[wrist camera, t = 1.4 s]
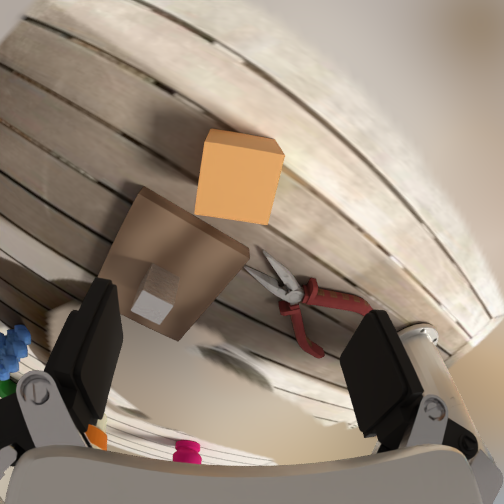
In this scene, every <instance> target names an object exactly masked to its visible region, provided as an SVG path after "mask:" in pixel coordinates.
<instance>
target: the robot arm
mask: <svg viewBox="0 0 504 504" xmlns="http://www.w3.org/2000/svg"><path fill="white" fill-rule="evenodd" d="M437 342H438V332H437V330H436V329H435V327H434V326H432V325H430V324H416V325H413V326H410V327H407V328H405V329H403V330H401V331H399V332H397V331H396V329H395V327H394V326H393V324H392V322H391V320H390V318H389V316H388V314H387V312H386V311H384V310H371V311H369V313H367V314H366V315H365V316H364V318H363V320H362V321H361V323H360V325H359V326H358V328H357V330H356V331H355V333H354V335H353V336H352V338H351V340H350V341H349V343H348V345H347V346H346V348H345V349H344V351H343V353H342V354H341V357H340V364H341V368H342V371H343V374H344V378H345V381H346V384H347V388H348V391H349V395H350V398H351V401H352V405H353V408H354V412H355V416H356V419H357V423H358V426H359V429H360V431H361V432H363V434H364V438H367V437H374V436H376V435H377V437H378V441H377V443H376V446H375V448H374V450H373V452H372V454H371V455H367V456H361V457H355V458H350V459H343V460H336V461H327V462H318V463H308V464H296V465H279V466H222V465H205V464H192V463H182V462H173V461H166V460H158V459H151V458H145V457H138V456H133V455H127V454H122V453H117V452H111V451H106V450H100V449H95V448H93V446H92V444H91V443H90V441H89V439H88V437H87V436H86V434H85V432H87V430H88V425H89V424H90V425H94V426H96V425H97V421H98V419H99V420H102V418H103V416H104V411H105V407H106V403H107V399H108V395H109V391H110V387H111V382H112V378H113V375H114V371H115V368H116V364H117V360H118V357H119V353H120V350H121V346H122V343H123V331H122V324H121V317H120V309H119V301H118V292H117V286H116V285H115V284H113V283H112V280H110V279H104V278H98V277H96V278H95V279H94V281H93V283H92V285H91V287H90V289H89V291H88V293H87V295H86V297H85V299H84V301H83V303H82V305H81V307H80V309H79V311H77V310H73V311H71V313H70V314H69V316H68V318H67V320H66V322H65V324H64V326H63V329H62V331H61V333H60V335H59V337H58V339H57V341H56V344H55V346H54V348H53V350H52V353H51V355H50V357H49V360H48V362H47V364H46V367H45V369H44V372H43V371H39V370H34V371H29V372H28V373H26V374H24V375H23V376H22V377H21V378H20V379H19V381H18V383H17V387H16V392H15V393H13V394H11V395H8V396H6V397H4V398H2V399H0V479H1V478H2V477H3V476H4V475H5V474H4V471H5V470H6V469H7V468H8V467H9V466H15V467H14V470H13V472H12V475H11V478H10V482H9V485H8V489H7V493H6V499H5V503H4V501H3V500H2V499H1V497H0V504H492V503H493V501H494V500H495V498H496V496H497V494H498V492H499V490H500V488H501V486H502V483H503V476H502V473H501V471H500V470H499V469H498V468H497V466H496V463H495V461H494V459H493V457H492V456H491V454H490V452H489V451H488V449H487V447H486V446H485V444H484V443H483V441H482V439H481V437H480V436H479V434H478V432H477V430H476V428H475V426H474V423H473V421H472V419H471V417H470V415H469V413H468V411H467V408H466V406H465V404H464V402H463V400H462V397H461V395H460V393H459V391H458V389H457V387H456V385H455V383H454V381H453V379H452V377H451V375H450V373H449V371H448V369H447V367H446V365H445V363H444V361H443V359H442V358H441V356H440V354H439V352H438V350H437V348H436V344H437Z"/></svg>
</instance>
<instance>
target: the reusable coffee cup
mask: <svg viewBox="0 0 504 504" xmlns="http://www.w3.org/2000/svg"><path fill="white" fill-rule="evenodd" d="M106 422H107V416H106V414H105V413H104V416H103V418H102V420H99V419H98V421H97V425H96V426H94V425H90V424H89V425H88V430H87V432H85V434H86V436H87V437H88V439H89V441H90V443H91V444H92V446H93V448H95V449H100V450H106V451H107V435H106Z"/></svg>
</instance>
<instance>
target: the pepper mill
mask: <svg viewBox="0 0 504 504" xmlns="http://www.w3.org/2000/svg"><path fill="white" fill-rule="evenodd" d="M175 449H176V450H177V451H176V452H175V453H174V454H173V462H182V463H192V464H201V461H202V458H201V456H200V455H199V454H198V452H200V445H199V444H198V443H197V442H194V441H188V440H181V441H177V442H176V445H175Z"/></svg>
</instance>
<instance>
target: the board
mask: <svg viewBox="0 0 504 504" xmlns="http://www.w3.org/2000/svg"><path fill="white" fill-rule="evenodd" d="M249 259H250V254H249V248H248V247H246V246H244V245H243V244H241V243H239V242H237V241H236V240H234V239H232V238H231V237H229V236H227V235H226V234H224V233H222V232H221V231H219V230H217V229H216V228H214V227H212V226H211V225H209V224H207V223H205V222H204V221H202V220H200V219H199V218H197V217H195V216H194V215H192V214H190V213H189V212H187V211H185V210H184V209H182V208H180V207H178V206H177V205H175V204H173V203H172V202H170V201H168V200H167V199H165V198H163V197H162V196H160V195H158V194H157V193H155V192H153V191H151V190H150V189H148V188H146V187H145V186H144V187H143V188H142V189H141V191H140V192H139V193H138V195H137V197H136V199H135V201H134V202H133V204H132V206H131V208H130V210H129V212H128V214H127V216H126V218H125V220H124V222H123V224H122V226H121V228H120V230H119V232H118V234H117V236H116V238H115V240H114V242H113V244H112V246H111V248H110V251H109V253H108V255H107V257H106V259H105V262H104V264H103V266H102V268H101V271H100V273H99V275H98V278H104V279H110V280H112V283H113V284H115V285H116V286H117V292H118V301H119V309H120V314H122V315H124V316H126V317H128V318H130V319H132V320H134V321H136V322H138V323H140V324H142V325H144V326H146V327H148V328H150V329H152V330H154V331H156V332H159V333H161V334H163V335H165V336H167V337H169V338H172V339H174V340H176V341H179V340H180V339H181V338H182V337H183V336H184V334H185V333H186V332H187V331H188V330H189V329H190V327H191V326H192V325H193V324H194V323H195V322H196V320H197V319H198V318H199V317H200V316H201V315H202V314H203V312H204V311H205V310H206V309H207V308H208V307H209V305H210V304H211V303H212V302H213V301H214V300H215V299H216V297H217V296H218V295H219V294H220V293H221V292H222V290H223V289H224V288H225V287H226V286H227V285H228V283H229V282H230V281H231V280H232V279H233V278H234V277H235V275H236V274H237V273H238V272H239V271H240V270H241V268H242V267H243V266H244V265H245V264H246V263H247V261H248V260H249Z"/></svg>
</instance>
